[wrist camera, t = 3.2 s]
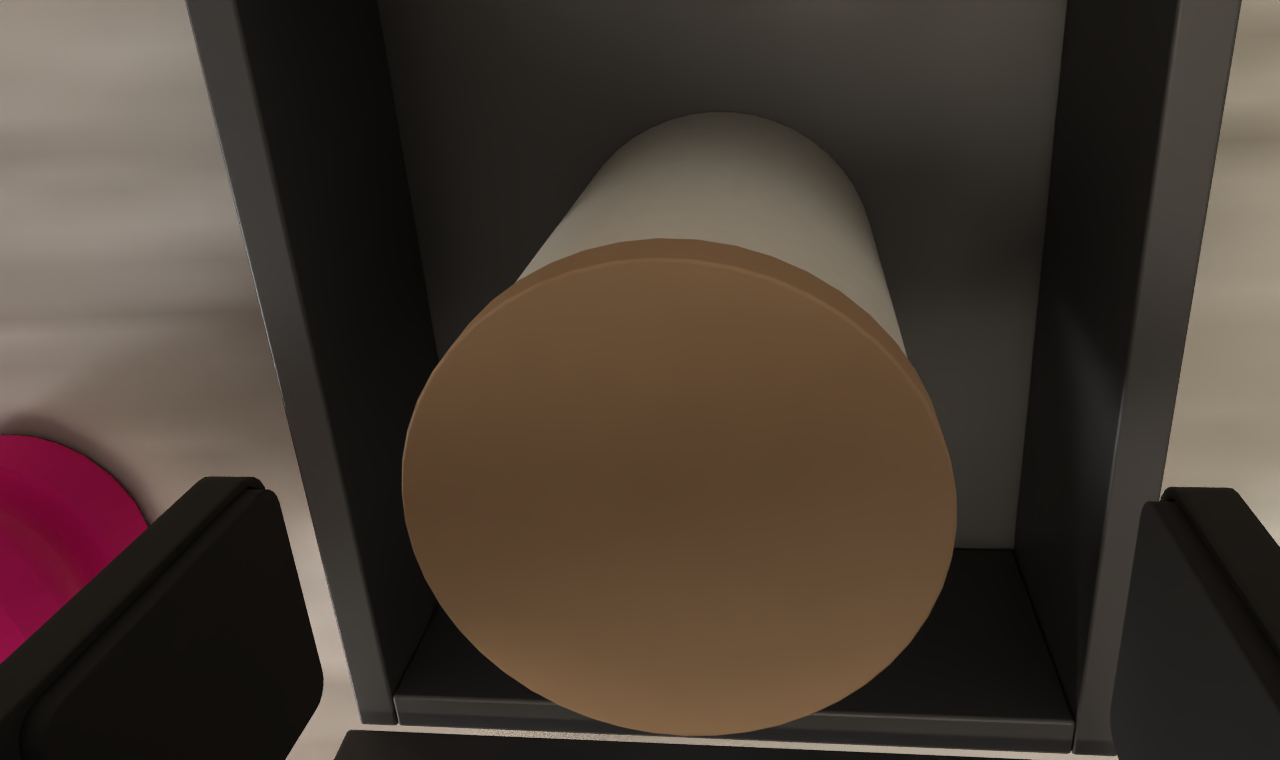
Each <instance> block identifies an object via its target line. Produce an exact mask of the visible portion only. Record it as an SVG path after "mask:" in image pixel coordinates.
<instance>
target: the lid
mask: <svg viewBox="0 0 1280 760" xmlns="http://www.w3.org/2000/svg"><path fill="white" fill-rule="evenodd" d="M334 760H1030V759H1007V758H984V757H961V756H938V755H915V754H892V753H870V752H847V751H824V750H801V749H778V748H755V747H732V746H710V745H687V744H664V743H641V742H618V741H595V740H572V739H550V738H527V737H504V736H481V735H458V734H435V733H412V732H390V731H367V730H349V731H348V732H347V733H346V736H345V738H344V740H343V742H342V744H341V746H340V748H339V750H338V752H337V755H336V757H335V759H334Z"/></svg>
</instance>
